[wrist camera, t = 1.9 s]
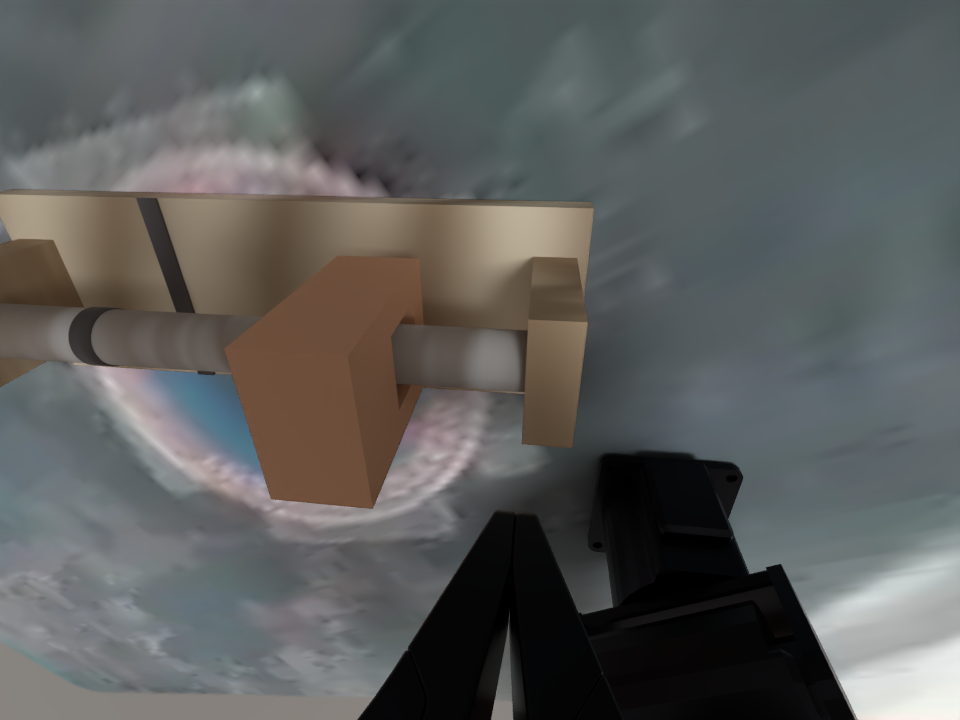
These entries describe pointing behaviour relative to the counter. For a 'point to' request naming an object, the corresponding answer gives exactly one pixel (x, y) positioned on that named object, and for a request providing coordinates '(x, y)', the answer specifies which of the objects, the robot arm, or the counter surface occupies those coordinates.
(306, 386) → the brown block with hole
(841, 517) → the counter surface
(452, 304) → the pipe stand
